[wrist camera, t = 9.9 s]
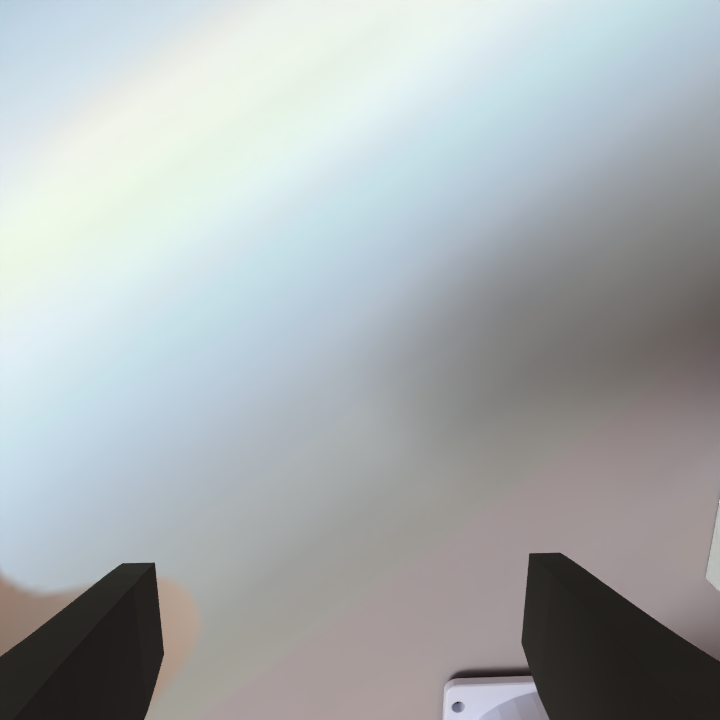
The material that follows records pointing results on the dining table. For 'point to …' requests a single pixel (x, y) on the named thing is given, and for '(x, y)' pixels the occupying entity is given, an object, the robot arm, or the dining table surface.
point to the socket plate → (715, 556)
